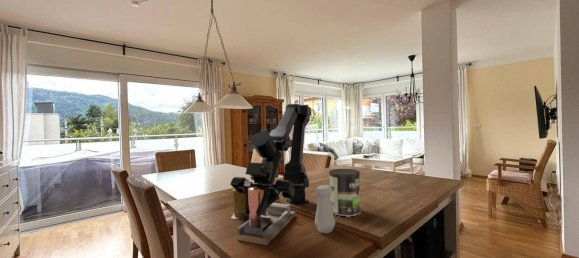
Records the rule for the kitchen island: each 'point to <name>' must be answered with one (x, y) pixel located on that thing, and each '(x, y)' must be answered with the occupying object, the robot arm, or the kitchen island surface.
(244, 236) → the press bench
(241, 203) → the condiment
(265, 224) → the slider
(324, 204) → the salt shaker
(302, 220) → the kitchen island surface
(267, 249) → the kitchen island surface
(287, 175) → the robot arm
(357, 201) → the coffee can
